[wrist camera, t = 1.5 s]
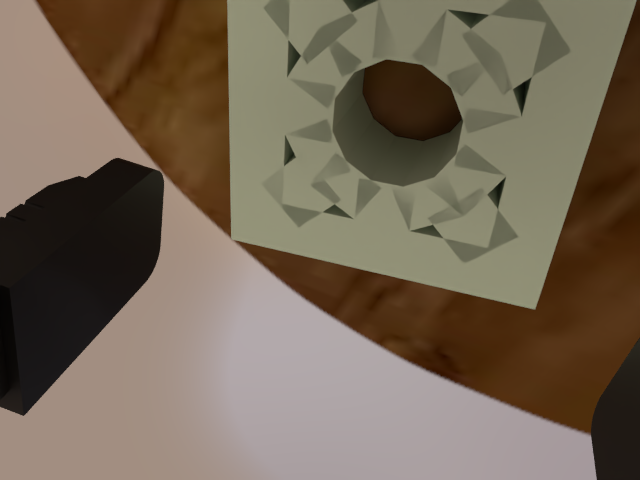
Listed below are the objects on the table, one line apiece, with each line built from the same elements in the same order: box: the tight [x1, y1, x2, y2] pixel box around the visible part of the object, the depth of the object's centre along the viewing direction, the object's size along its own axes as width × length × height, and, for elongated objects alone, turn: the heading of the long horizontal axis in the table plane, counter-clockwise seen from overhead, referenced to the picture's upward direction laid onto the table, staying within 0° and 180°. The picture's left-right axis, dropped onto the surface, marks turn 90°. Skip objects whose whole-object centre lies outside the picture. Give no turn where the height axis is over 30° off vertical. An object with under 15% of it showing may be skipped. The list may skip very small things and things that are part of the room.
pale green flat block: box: [227, 0, 637, 309], centre depth 26 cm, size 14×14×5 cm
